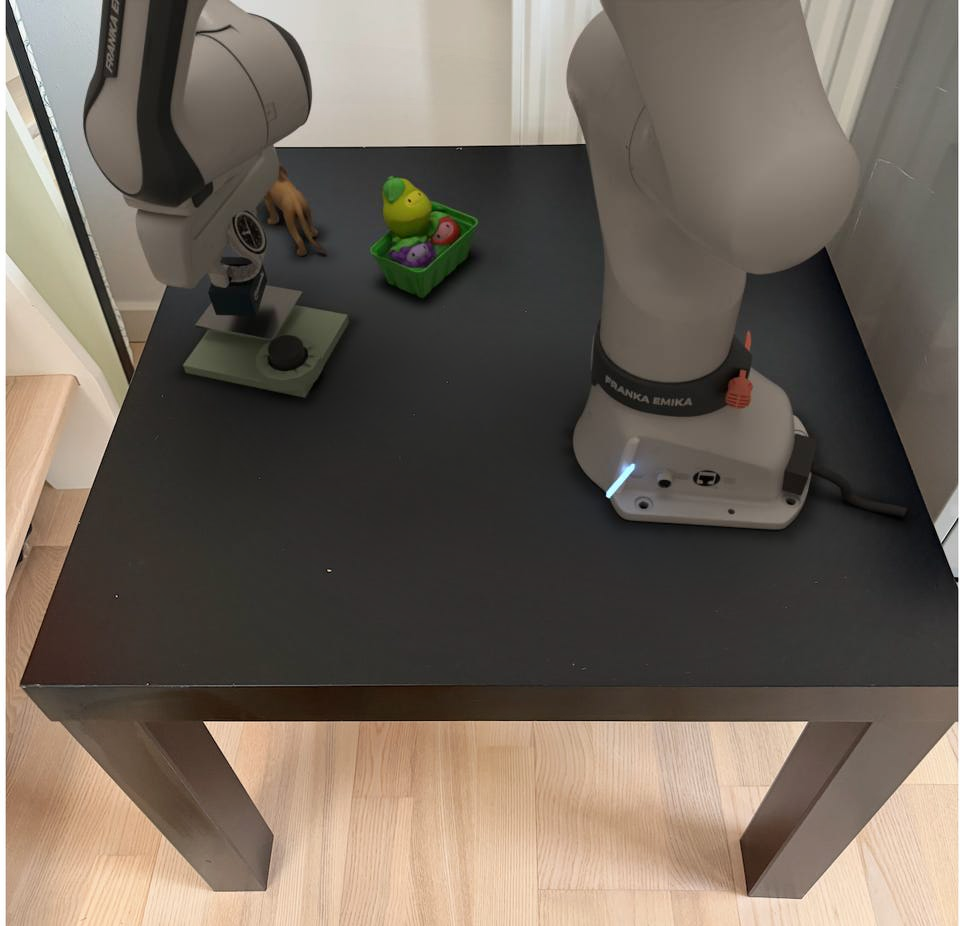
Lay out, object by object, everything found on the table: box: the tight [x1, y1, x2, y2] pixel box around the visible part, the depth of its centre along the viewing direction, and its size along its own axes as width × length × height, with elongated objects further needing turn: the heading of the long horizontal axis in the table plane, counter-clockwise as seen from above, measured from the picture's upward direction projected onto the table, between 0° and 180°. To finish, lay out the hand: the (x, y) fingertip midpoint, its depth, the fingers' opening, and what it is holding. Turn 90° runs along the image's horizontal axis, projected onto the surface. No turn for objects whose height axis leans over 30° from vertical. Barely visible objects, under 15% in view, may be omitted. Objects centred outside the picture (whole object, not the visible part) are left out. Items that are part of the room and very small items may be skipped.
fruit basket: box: [369, 175, 479, 299], centre depth 102 cm, size 11×9×11 cm
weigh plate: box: [194, 284, 304, 342], centre depth 98 cm, size 9×8×1 cm
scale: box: [182, 304, 350, 398], centre depth 97 cm, size 15×13×3 cm
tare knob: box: [268, 335, 306, 371], centre depth 93 cm, size 4×4×2 cm
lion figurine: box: [263, 162, 328, 257], centre depth 109 cm, size 15×5×9 cm, turn 43°
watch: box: [205, 210, 268, 316], centre depth 92 cm, size 6×8×11 cm
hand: (235, 266), depth 93 cm, fingers closed on watch, 4 cm apart
